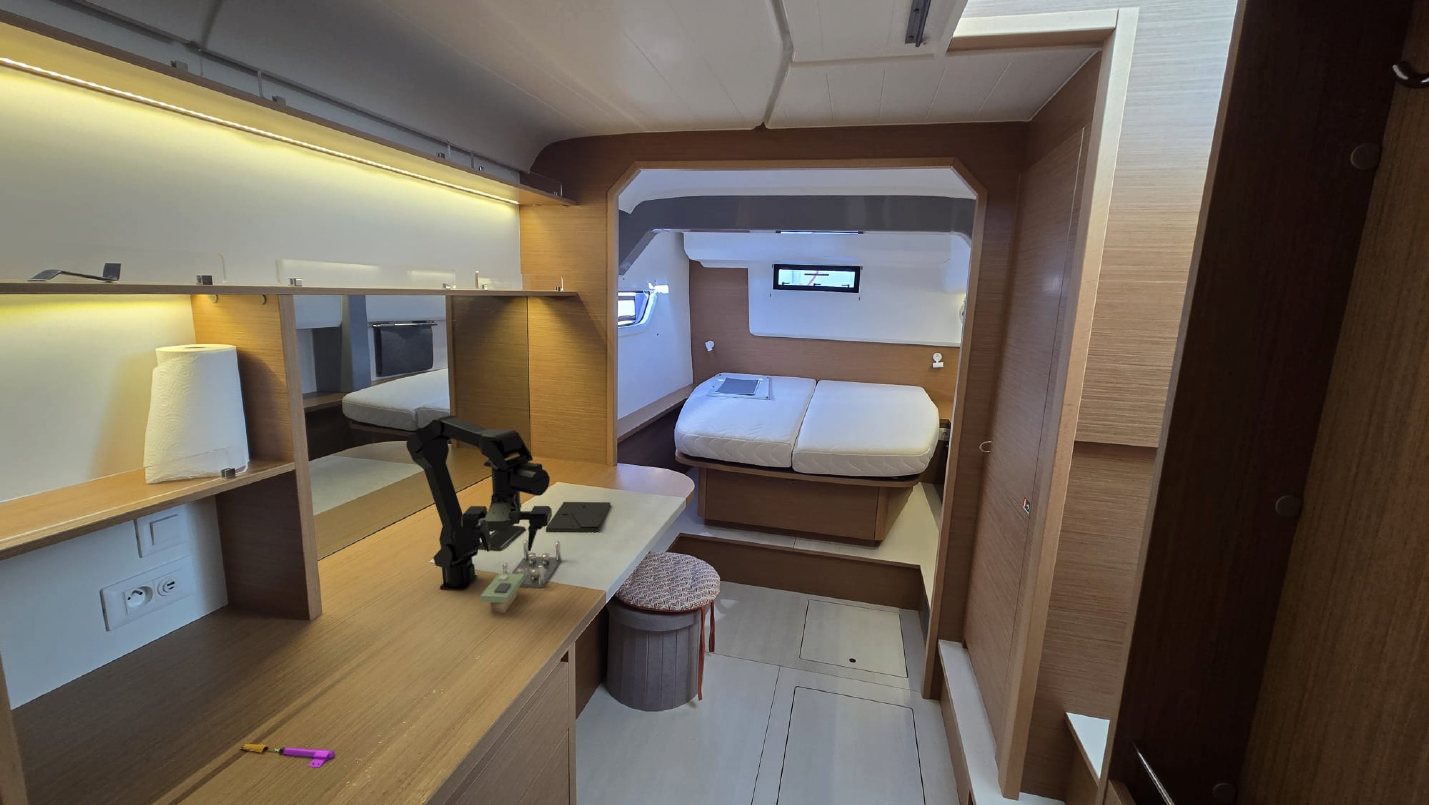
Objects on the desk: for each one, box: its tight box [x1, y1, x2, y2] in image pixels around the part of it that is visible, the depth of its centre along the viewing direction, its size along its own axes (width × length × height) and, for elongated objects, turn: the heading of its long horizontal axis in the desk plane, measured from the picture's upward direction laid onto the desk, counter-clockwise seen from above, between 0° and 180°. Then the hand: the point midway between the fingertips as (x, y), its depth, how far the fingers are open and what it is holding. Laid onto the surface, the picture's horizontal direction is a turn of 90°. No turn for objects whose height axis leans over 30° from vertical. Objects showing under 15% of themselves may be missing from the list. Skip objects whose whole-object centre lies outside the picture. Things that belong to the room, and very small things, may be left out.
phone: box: [478, 525, 526, 552], centre depth 162 cm, size 8×1×15 cm
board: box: [480, 572, 525, 603], centre depth 128 cm, size 6×10×2 cm, turn 177°
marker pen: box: [244, 743, 336, 769], centre depth 87 cm, size 3×1×16 cm
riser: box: [490, 590, 518, 613], centre depth 129 cm, size 3×7×4 cm, turn 177°
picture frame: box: [545, 501, 612, 534], centre depth 177 cm, size 16×3×21 cm
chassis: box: [502, 539, 562, 589], centre depth 143 cm, size 10×14×6 cm
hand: (509, 550), depth 127 cm, fingers open, 9 cm apart
